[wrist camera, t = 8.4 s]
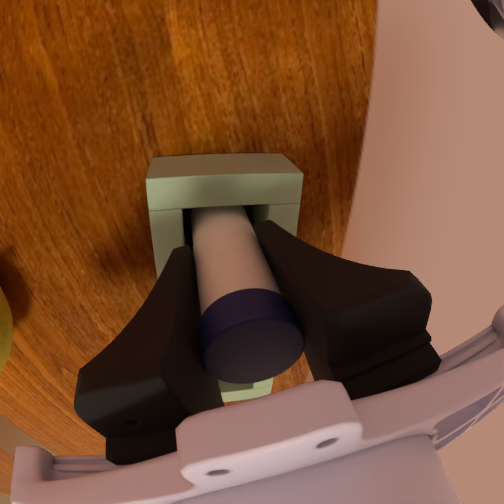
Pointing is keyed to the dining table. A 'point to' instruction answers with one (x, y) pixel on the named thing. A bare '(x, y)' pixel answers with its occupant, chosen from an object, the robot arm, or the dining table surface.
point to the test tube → (240, 301)
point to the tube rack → (221, 194)
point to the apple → (5, 330)
